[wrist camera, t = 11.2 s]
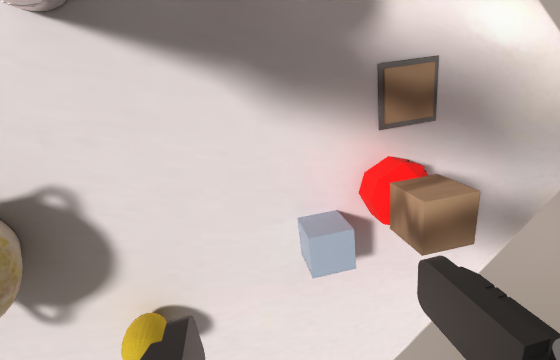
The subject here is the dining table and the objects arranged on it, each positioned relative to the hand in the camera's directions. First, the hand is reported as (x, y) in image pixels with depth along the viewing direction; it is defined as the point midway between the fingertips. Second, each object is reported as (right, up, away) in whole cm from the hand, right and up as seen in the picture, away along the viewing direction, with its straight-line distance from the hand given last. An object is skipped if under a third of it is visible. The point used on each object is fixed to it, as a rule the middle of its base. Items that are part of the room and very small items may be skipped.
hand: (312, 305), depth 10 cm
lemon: (-20, -16, +31) cm, 40 cm away
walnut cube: (+15, +2, +24) cm, 28 cm away
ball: (+14, +4, +31) cm, 34 cm away
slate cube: (+5, -3, +32) cm, 32 cm away
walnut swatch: (+16, +16, +28) cm, 36 cm away
